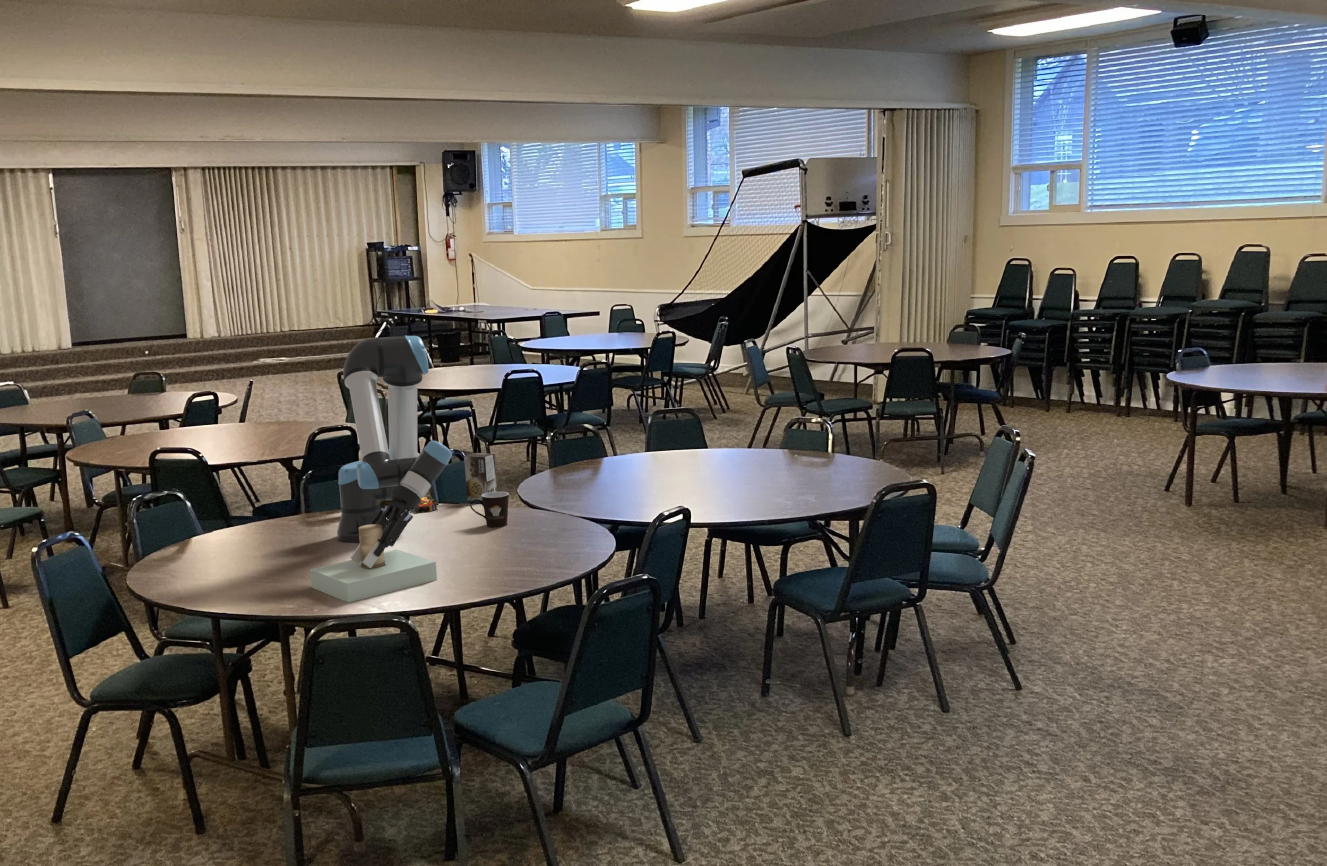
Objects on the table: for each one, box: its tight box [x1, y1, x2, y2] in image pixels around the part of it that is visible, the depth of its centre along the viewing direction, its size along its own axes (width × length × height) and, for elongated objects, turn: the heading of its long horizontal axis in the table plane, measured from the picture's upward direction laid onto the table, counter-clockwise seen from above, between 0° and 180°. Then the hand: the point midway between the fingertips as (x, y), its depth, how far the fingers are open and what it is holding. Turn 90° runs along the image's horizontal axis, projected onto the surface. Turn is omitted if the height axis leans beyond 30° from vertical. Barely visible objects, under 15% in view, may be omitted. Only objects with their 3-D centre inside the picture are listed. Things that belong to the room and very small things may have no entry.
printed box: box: [463, 452, 498, 502], centre depth 407 cm, size 9×6×16 cm
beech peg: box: [359, 524, 385, 569], centre depth 307 cm, size 6×6×15 cm
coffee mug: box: [469, 491, 510, 529], centre depth 369 cm, size 12×9×10 cm
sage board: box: [309, 549, 438, 603], centre depth 308 cm, size 20×26×5 cm
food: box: [379, 495, 440, 514], centre depth 397 cm, size 22×19×4 cm
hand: (360, 562), depth 305 cm, fingers closed on beech peg, 6 cm apart
